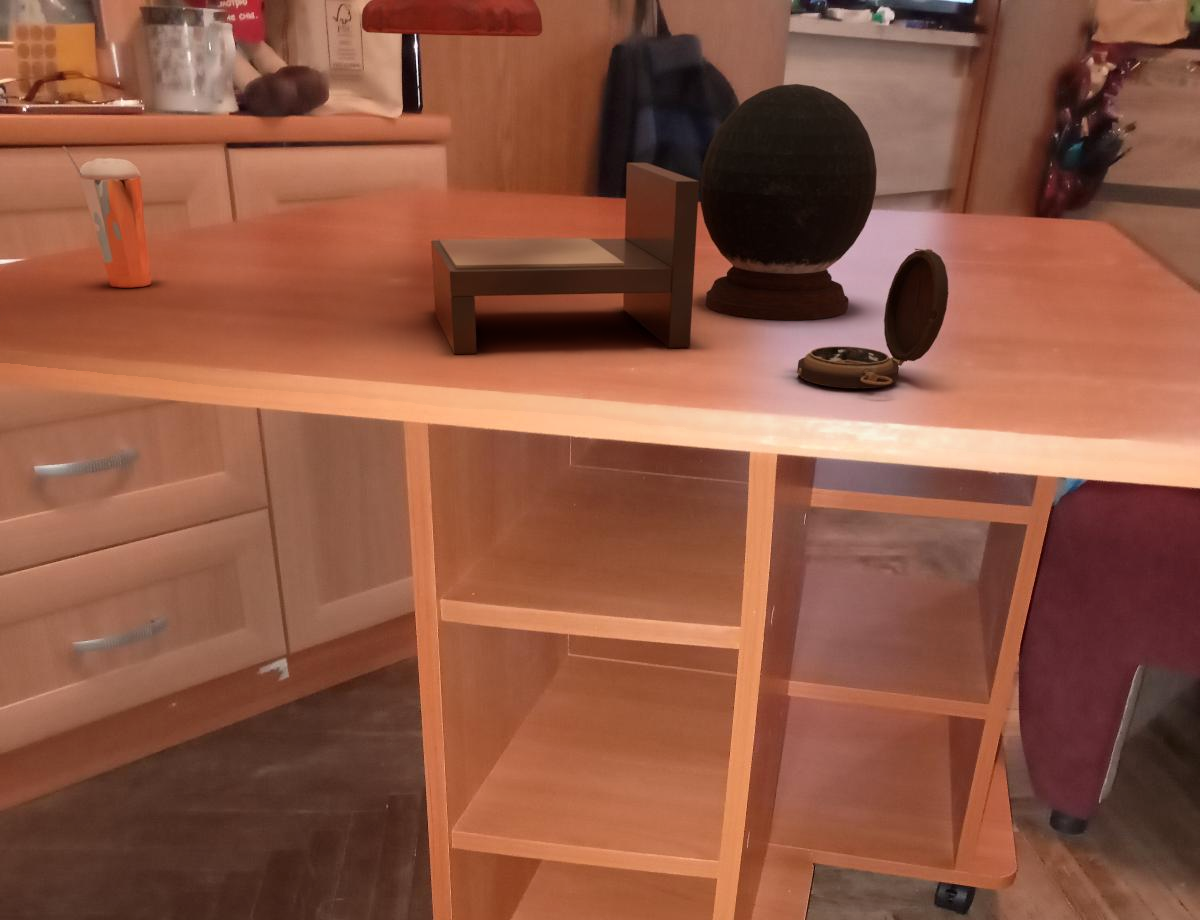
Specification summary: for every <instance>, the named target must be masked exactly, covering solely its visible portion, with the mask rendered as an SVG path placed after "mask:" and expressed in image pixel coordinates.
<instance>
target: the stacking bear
mask: <svg viewBox="0 0 1200 920" xmlns="http://www.w3.org/2000/svg"><path fill="white" fill-rule="evenodd" d="M361 28H362V30H363V31H364V32H366V33H372V34H373V33H375V34H394V35H395V34H396V35H398V34H399V35H430V36H473V37H475V36H476V37H478V36H479V37H538V36H540V35H541V34H542V33H543V21H542V13H541V11H540V9H539V6H538V4H537V2H536V1H535V0H369V1H368V2H366V4H365V5H364V6H363V8H362V12H361Z"/></svg>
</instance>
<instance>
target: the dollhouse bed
mask: <svg viewBox="0 0 1200 920" xmlns="http://www.w3.org/2000/svg"><path fill="white" fill-rule="evenodd" d="M625 181H626V183H625V184H626V185H625V188H626V189H625V220H624V222H625V223H624V227H625V228H624V238H589V237H543V238H542V237H530V238H527V237H526V238H525V237H521V238H520V237H519V238H517V237H516V238H439V239H437V240H436V239H435V240H431V241H430V243H431V244H430V247H431V248H430V249H431V262H432V264H431V265H432V266H431V267H432V282H433V300H434V314H435V315H436V318H437V320H438V322H439V324H440V327H441V329H442V331H443V333H444V335H445V338H446V339H447V342H448V344H449V346H450V348H451V350H452V352H453V354H454V355H475V354H477V353H478V350H477V347H478V346H477V328H476V327H477V325H476V322H477V321H476V301H475V300H476V298H475V297H491V296H492V297H497V296H498V297H499V296H500V297H502V296H550V295H553V296H554V295H559V296H560V295H603V294H606V295H607V294H609V295H610V294H622V295H623V297H622V298H623V299H622V300H623V301H622V310H624V312H625V313H627V314H628V315H629V316H630V317H631V318H633V319H634V320H635V321H636V322H637V323H639V324H640V325H641V326H642V327H643V328H644V329H646V330H647V331H648V332H649V333H650V334H652V336H654V337H655V338H657V339H658V340H659V341H660V342H661V343H663V345H665V347H667V348H668V349H686V348H687V349H688V348H690V347H691V333H692V332H691V331H692V318H693V317H692V313H693V297H694V280H695V263H696V247H697V246H696V245H697V229H698V228H697V226H698V212H699V211H698V210H699V209H698V208H699V195H700V181H699V180H697V179H693V178H691V177H688V176H685V175H682V174H679V173H676V172H674V171H671V170H668V169H665V168H663V167H660V166H657V165H653V164H651V163H648V162H626V179H625Z"/></svg>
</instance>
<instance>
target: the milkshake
mask: <svg viewBox="0 0 1200 920" xmlns="http://www.w3.org/2000/svg"><path fill="white" fill-rule="evenodd" d="M62 148H63V150H64V151H65V153H66V155H67V156H68V158H69V159H70V161H71V163H72V164H73V166H74V169H75V170H76V171H77V174H78V177H79V181H80V185H81V187H82V191H83V194H84V197H85V201H86V204H87V208H88V211H89V213H90V216H91V219H92V223H93V225H94V229H95V233H96V237H97V240H98V243H99V247H100V252H101V254H102V255H101V256H102V258H103V262H104V266H105V269H106V270H105V271H106V274H107V277H108V281H109V285H110V286H111V287H112V288H113V287H114V288H118V289H119V288H120V289H121V288H122V289H126V288H127V289H131V288H133V289H134V288H142V287H143V288H144V287H147V286H150V285H152V279H151V269H150V261H149V254H148V244H147V235H146V226H145V213H144V200H143V188H142V178H141V172H140V170H139V168H138V167H137V166H136V165H135V164H134V163H132V162H131V161H130V160H127V159H124V158H113V157H108V158H102V157H96V158H94V159H93V160H90V161H87V162H85V163H83V164H82V166H80V168H79V167H78V166H77V164H76V162H75V161H74V159H73V157H72V156H71V153H70V152H69V150H68V148H67V147H66V146H64V145H63V146H62Z"/></svg>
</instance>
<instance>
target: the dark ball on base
mask: <svg viewBox="0 0 1200 920" xmlns="http://www.w3.org/2000/svg"><path fill="white" fill-rule="evenodd" d="M877 172H878V170H877V162H876V156H875V150H874V147H873V144H872V141H871V138H870V135H869V132H868V130H867V129H866V127H865V125H864V124H863V122H862V120H861V119H860V117H859V116H858V115H857V113H855V112H854V110H852V108H851V107H850V106H849V105H848V104H847V103H846V102H845V101H843V100H842V99H841V98H839V97H838V96H836V95H835V94H833V93H832V92H829V91H827V90H824V89H821V88H819V87H817V86H814V85H807V84H801V83H795V84H794V83H791V84H780V85H775V86H772V87H769V88H767V89H763V90H761V91H759V92H757V93H756V94H754V95H752V96H750V97H748V98H747V99H745V100H744V101H742V102H741V103H740V104H739V105H738V106H737V107H736V108H735V109H734V110H733V111H732V112H730V113H729V114H728V116H727V117H726V118H725V120H724V121H723V122H722V123H721V124H720V126H719V127H718V128H717V131H716V132H715V134H714V136H713V138H712V140H711V142H710V143H709V145H708V148H707V151H706V154H705V157H704V161H703V163H702V167H701V176H700V181H699V196H700V197H699V199H700V208H701V213H702V217H703V222H704V225H705V227H706V230H707V232H708V234H709V237H710V240H711V241H712V242H713V244H714V246H715V247H716V249H717V250H718V252H719V253H720V254H721V256H723V258H725V259H726V260H727V262H729V263H730V264H731V265H732V266H731V267H730V268H729V269H728V270H727V271H726V275H724V276H721V277H717V278H716V279H715V280H714V281H713V283H712V285H711V288H710V289H708V290H707V291H706V292H705V293H706V295H705V306H706V307H707V308H708V309H709V310H712V311H715V312H717V313H720V314H725V315H729V316H735V317H743V318H750V319H760V320H761V319H762V320H775V321H776V320H777V321H806V320H808V321H809V320H822V319H828V318H834V317H838V316H841V315H842V316H843V315H844V314H845V313H847V312H848V309H849V308H848V307H849V300H850V299H849V297H848V296H847V295H845V290H844V287H843V285H842V284H841V283H840V282H838V281H835V280H833V279H832V278H833V277H832V275H831V273H829V270H828V269H829V268H830V267H831V266H833V265H834V264H835V263H837V262H838V261H839V260H840V259H842V257H844V255H845V254H846V253H847V252H848V251H849V250H850V249H851V248H852V247H853V245H854V244H855V243H856V241H857V239H859V238H858V237H860V235H861V233H862V232H863V230H864V228H866V227H865V226H866V224H867V222H868V220H869V216H870V214H871V212H872V210H873V205H874V201H875V196H876V192H877V175H878V174H877Z"/></svg>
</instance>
